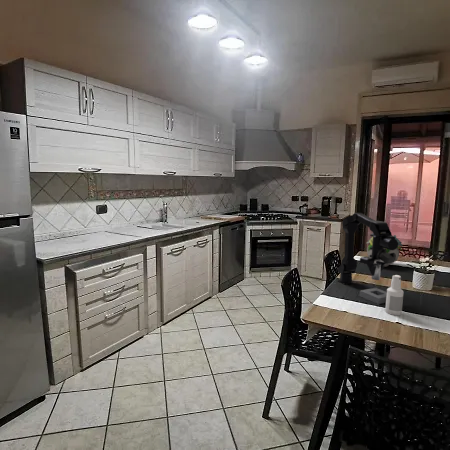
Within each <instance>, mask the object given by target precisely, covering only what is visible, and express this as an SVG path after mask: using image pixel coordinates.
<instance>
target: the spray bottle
mask: <svg viewBox="0 0 450 450" xmlns="http://www.w3.org/2000/svg"><path fill="white" fill-rule="evenodd" d="M401 279H402V277H401V275H398V274H395V275H392V277H391V283H390V287H388V288H387V289H386V292H387V297H386V303H385V309H384V311H385V312H386V313H387V314H388V315H389V314H390V315H391V316H392V315H393V316H401V315H402V314H403V313H402V311H403V302H404V301H403V300H404V290H403V289H402V288H401V286H402V285H401V284H402V283H401V282H402V280H401Z"/></svg>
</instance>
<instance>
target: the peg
mask: <svg viewBox="0 0 450 450" xmlns="http://www.w3.org/2000/svg"><path fill="white" fill-rule="evenodd" d="M376 264H378V263H376ZM380 272H381V264H378V265H377V266H376V267H375V273H374V276H372V275H371V277H370V278H371V280H374V281H380V280H381V274H380ZM381 273H382V272H381Z"/></svg>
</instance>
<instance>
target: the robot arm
mask: <svg viewBox="0 0 450 450" xmlns="http://www.w3.org/2000/svg"><path fill="white" fill-rule="evenodd" d="M360 224H363V225H364V226H367V227H368V228H369V231H371V234H370V237H371V238H372V237H373V242H372V247H370V249H371V250H372V255H370V257H372V258H370V257H368V256H361V257H360V258H359V263H362V264H365V265H367V268H368V270H369V273H370V274H371V277H372V276H374V273H375V267H376V266H377V265H378V264H381V272H380V275H381V274H382V271H383V270H384V268H385V267H384V266H385V265H386V264H388V263H391V264H393V263H392V262H394V260H396V254H395V253H387V252H386V251H387V250H386V249H389V250H395V249H396V248H397V247H398V242H397V240H396V239H395V236H394V235H393V234H392V232H391V229H390V227H389V224H388V223H387V222H385V221H383V220H382V221H380V220H375V219H374V218H372V217H369V216H368V215H365V214H364V213H362V212H355V213H353V214H352V215H350V216H347V217H345V218H343V220H342V230H343V231H344V232H345V233H344V234H345V237H344V256H343V258H342V260H341V264H340V266H338V267H337V272H338V273H339V280H337V282H339V283H342V284H344V285H350V284H351V285H352V284H354V282H353V274H355V273H356V270H357V268H358V260H356V259H355V257H354V253H355V252H354V251H355V250H354V249H355V233H357V232H356V231H358V228H359V225H360ZM385 248H386V249H385ZM376 263H378V264H376ZM394 263H395V262H394Z"/></svg>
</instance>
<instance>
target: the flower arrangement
mask: <svg viewBox="0 0 450 450" xmlns="http://www.w3.org/2000/svg"><path fill="white" fill-rule="evenodd" d="M393 236H395V239H396V240H397V242H398V247H397V248H396V249H395V250H389V249H386V248H385V249H386V250H387V251H386V252H387V253H395V254H396V260H394V262H392V263H388V264H386V265H385V266H384V268H385V267H389V265H390V264H393V263H395V262H396V261H398V260H399V257H400V251H401V252H402V251H403V249H402V247H403V244H402V241H401V240H400V239H399V238H397V235H396V234H393ZM372 242H373V237H372V236H371V237H370V238H369V239H368V240H367V241H366V244H368V245H367V249H366V250H367V251H366V254H367V255H366V256H367V257H370V255H372V250H371V249H370V247H372ZM370 258H372V257H370Z"/></svg>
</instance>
